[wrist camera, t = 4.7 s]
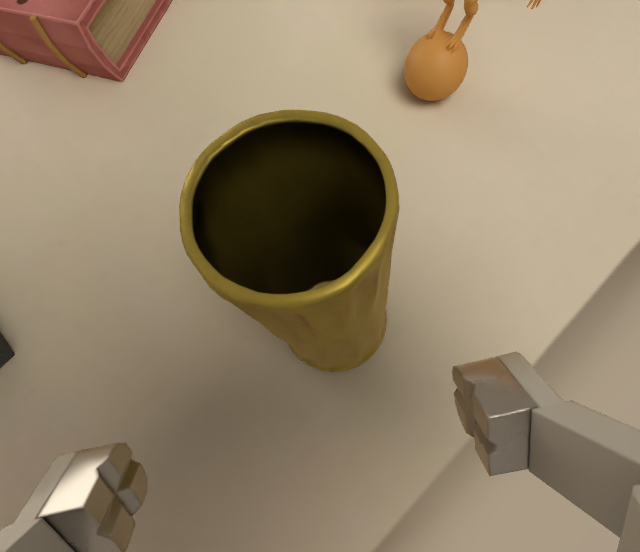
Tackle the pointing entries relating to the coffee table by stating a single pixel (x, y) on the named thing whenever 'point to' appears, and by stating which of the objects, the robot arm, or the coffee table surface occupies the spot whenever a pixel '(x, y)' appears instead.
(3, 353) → the tray
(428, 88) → the figurine
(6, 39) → the book
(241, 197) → the vase
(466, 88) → the coffee table surface
